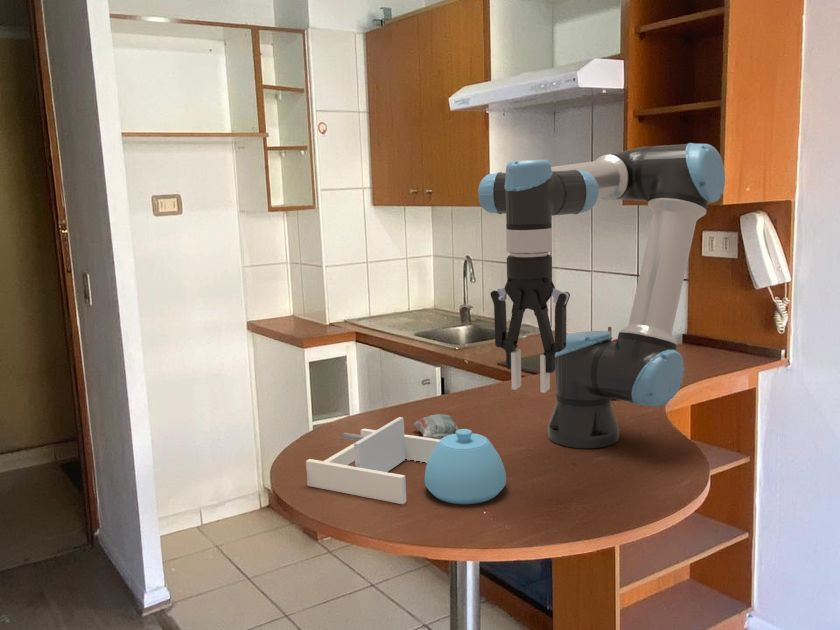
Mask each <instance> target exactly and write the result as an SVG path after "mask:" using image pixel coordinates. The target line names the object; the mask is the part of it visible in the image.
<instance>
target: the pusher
mask: <svg viewBox="0 0 840 630" xmlns="http://www.w3.org/2000/svg"><path fill="white" fill-rule="evenodd" d="M404 421H405V420H404V417H403V416H402V417H401V416H399V417H397V418H395V419H393V420H392V421H390V422H388V423H387V424H385V425H383V426H381V427H380V428H378V429H375V430H376V431H374V432H373V433H371V434H369V435H368V436H364V435H361V434H357V433H356V434H355V433H350V432H343V433H342V436H341V437H342V439H343V440H351V441H355V442H356V443H355V442H354V443H353V444H354V451H355V461H354V462H355V463H354V465H355V466H354V467H359V468H365V469H371V470H377V471H382V472H388V473H389V471H391V470H392V469H394V468H395V467H397V466H398V465H400V464H401V463H403V462H404V461H406V460H405V439H404V434H405V422H404Z"/></svg>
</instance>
